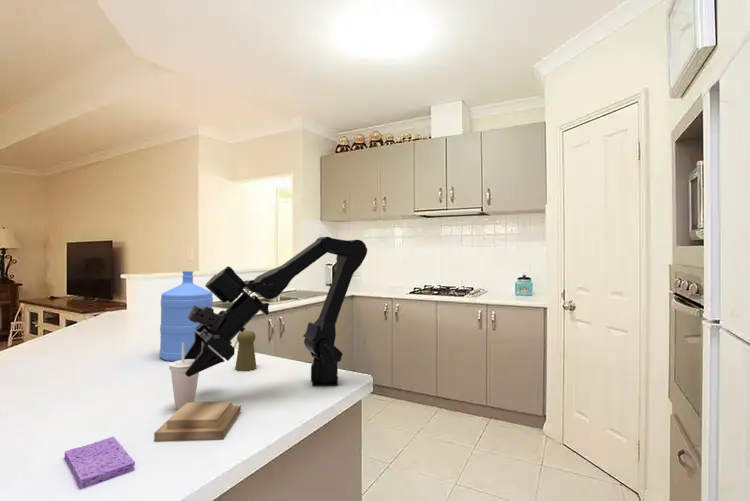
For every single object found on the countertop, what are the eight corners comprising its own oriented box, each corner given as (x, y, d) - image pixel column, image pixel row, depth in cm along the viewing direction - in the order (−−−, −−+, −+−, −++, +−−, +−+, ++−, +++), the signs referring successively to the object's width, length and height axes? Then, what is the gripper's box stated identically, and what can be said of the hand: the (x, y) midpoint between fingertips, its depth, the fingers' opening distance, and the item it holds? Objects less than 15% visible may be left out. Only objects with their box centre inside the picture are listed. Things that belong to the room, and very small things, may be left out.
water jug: (198, 362, 121) (200, 272, 122) (149, 361, 122) (150, 272, 122) (219, 350, 137) (220, 270, 137) (175, 349, 137) (176, 270, 138)
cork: (250, 372, 111) (250, 333, 111) (230, 370, 112) (231, 332, 113) (260, 366, 117) (260, 329, 117) (242, 365, 118) (242, 329, 119)
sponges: (79, 493, 55) (80, 479, 55) (63, 460, 64) (64, 449, 64) (135, 473, 60) (136, 461, 60) (113, 445, 69) (114, 435, 69)
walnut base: (240, 412, 82) (240, 398, 83) (223, 439, 71) (223, 422, 71) (182, 414, 82) (182, 399, 82) (154, 441, 70) (154, 424, 70)
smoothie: (175, 401, 88) (176, 340, 89) (205, 401, 89) (206, 339, 89) (162, 413, 82) (164, 346, 82) (194, 412, 82) (195, 346, 83)
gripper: (205, 289, 96) (153, 338, 90) (219, 296, 81) (157, 356, 75) (237, 319, 100) (189, 368, 94) (257, 331, 85) (200, 390, 79)
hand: (184, 369), depth 85 cm, fingers open, 9 cm apart
